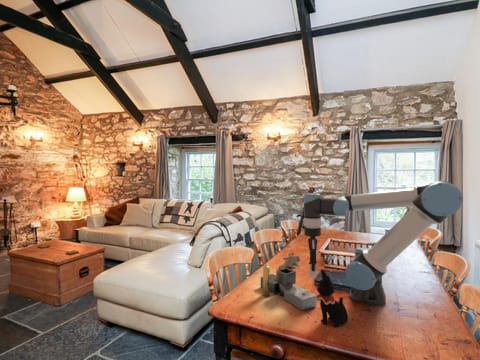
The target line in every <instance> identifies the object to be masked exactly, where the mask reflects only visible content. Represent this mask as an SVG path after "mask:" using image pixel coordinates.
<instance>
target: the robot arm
mask: <svg viewBox="0 0 480 360" xmlns="http://www.w3.org/2000/svg"><path fill="white" fill-rule="evenodd" d="M321 196H322V195H321V194H320V193H316V192H314V193H313V192H312V193H305V194H304V196H303V218H304V219H302V222H303V225H304V227H303V229H304V230H303V231H304V232H303V233H304V236H306V237H309V238H308V239H307V240H308V241H307V242H308V248H309V262H308V265H309V278H310V279H311V278H313V279H317V263H318V260H317V249H318V239H317V238H316V237H320V236H321V235H322V228H321V226H322V216H333V217H346V216H348V214H349V212H358V211H370V210H382V209H384V210H385V209H397V208H410V207H411V208H410V210H408V212H406V213H405V214H404V215H403V216H402V218H400V219H399V220H398V221H397V222H396V223H395V224H394V225H393V226H392V227H391V228H390V229H389V230H388V231H387V232H386V233H385V234H384V235H383V236H382V237H380V239H379V240H377V242H376V243H375V244H373V246H372V247H370V248H367V247H356V248H355V250H354V258H353V259H352V260H351V262H349V263H348V264H347V265H346V268H345V271H344V274H345V278H346V281H347V283H348V284H349V285H350V286H351V288H350V291H349V296H350V297H349V298H351V299H352V301H355V302H357V303H358V304H362V305H365V306H372V307H373V306H374V307H379V306H383V305H385V304H386V301H387V297H386V292H385V289H384V286H383V276H384V275H385V274H386V273H387V271H388V267H387V266H389V264H390V263H392V262H393V261H394V260H395V259H396V258H397V257H398V256H399V255H400V254H401V253H403V252H404V251H405V250H406V249H407V248H408V247H409V246H411V244H412V243H414V242H415V241H417V239H418V238H420V236H422V235H423V234H424V233H425V232H426V231H427V230H428V229H429V228H430V227H431V226H432V225H440V224H441V223H442V222H444V221H445V220H446V219H447V218H449V217H450V216H451V215H453V214H455V213H457V212H458V211H459V210H460V209H461V207H462V205H463V202H464V199H463V196H464V195H463V193H462V191H461V190H460V188H458V187H457V186H456V185H455V184H453V183H452V182H449V181H446V180H437V181H436V180H435V181H433V182H428V183H425V184H418V185H414V187H412V188H405V189H403V188H402V189H394V190H384V191H377V192H376V191H375V192H366V193H358V194H350V195H344V194H343V195H340V196H336V197H334V198H333V197H332V198H324V197H321Z"/></svg>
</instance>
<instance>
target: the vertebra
mask: <svg viewBox="0 0 480 360" xmlns="http://www.w3.org/2000/svg"><path fill="white" fill-rule="evenodd" d="M282 260H283V261H284V263H283V264H280V265H279V270H280V269H283V268H291V269H292V270H295V267H298V268H300V267H301V266H300V265H299V262H300V261H301V259H300V256H298V255H296V256H295V253H294V252H290V253H288V255H287V256H285V257H282Z"/></svg>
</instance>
